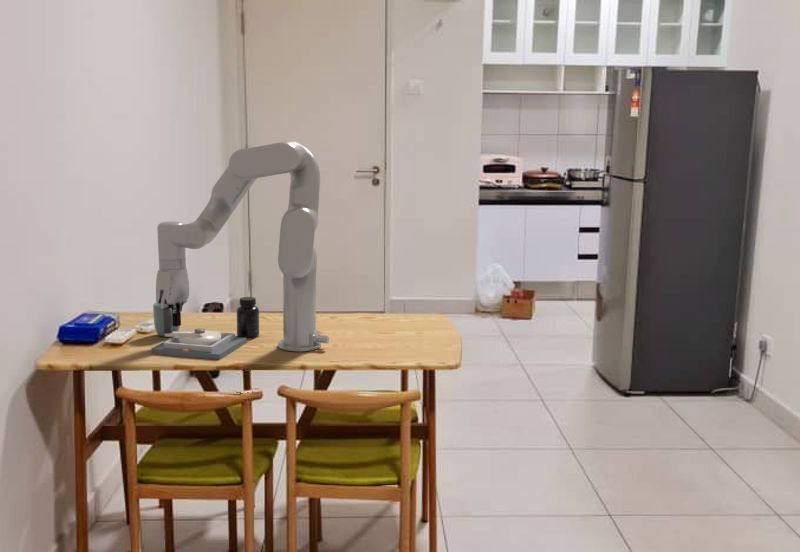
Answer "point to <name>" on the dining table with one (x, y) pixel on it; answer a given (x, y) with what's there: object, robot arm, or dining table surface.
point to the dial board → (200, 347)
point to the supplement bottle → (247, 318)
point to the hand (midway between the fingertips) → (174, 325)
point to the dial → (188, 332)
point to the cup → (160, 320)
